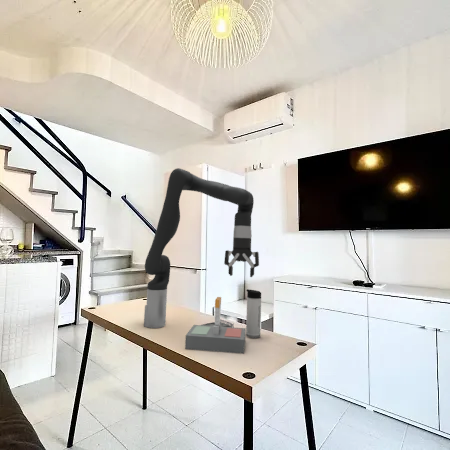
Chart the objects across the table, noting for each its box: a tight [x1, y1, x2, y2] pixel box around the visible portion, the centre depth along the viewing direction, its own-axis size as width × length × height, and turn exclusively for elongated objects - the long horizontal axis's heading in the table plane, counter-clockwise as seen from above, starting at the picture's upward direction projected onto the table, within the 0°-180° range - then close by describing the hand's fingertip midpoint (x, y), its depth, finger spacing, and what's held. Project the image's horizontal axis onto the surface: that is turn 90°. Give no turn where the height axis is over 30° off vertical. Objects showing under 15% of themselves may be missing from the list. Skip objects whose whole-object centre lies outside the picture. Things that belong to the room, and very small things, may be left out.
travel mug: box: [245, 288, 262, 339], centre depth 124 cm, size 6×7×20 cm
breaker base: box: [184, 321, 246, 354], centre depth 112 cm, size 22×14×8 cm, turn 83°
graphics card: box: [202, 318, 235, 328], centre depth 130 cm, size 17×4×12 cm
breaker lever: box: [214, 296, 222, 326], centre depth 112 cm, size 2×6×11 cm, turn 174°
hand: (241, 276), depth 117 cm, fingers open, 8 cm apart
